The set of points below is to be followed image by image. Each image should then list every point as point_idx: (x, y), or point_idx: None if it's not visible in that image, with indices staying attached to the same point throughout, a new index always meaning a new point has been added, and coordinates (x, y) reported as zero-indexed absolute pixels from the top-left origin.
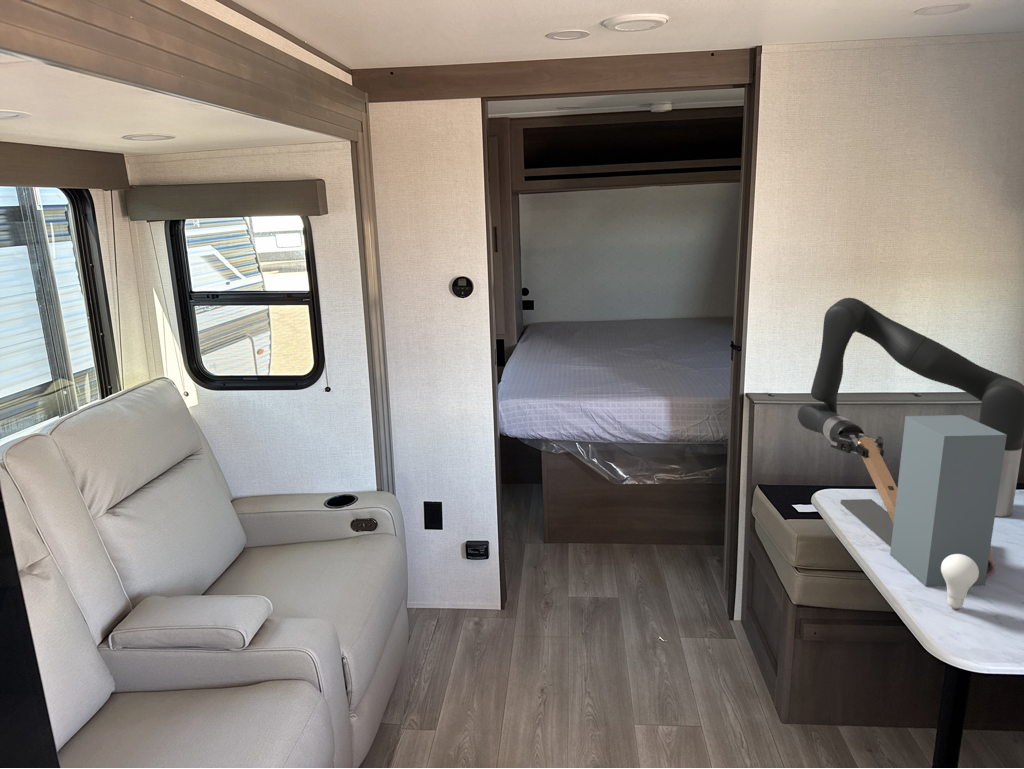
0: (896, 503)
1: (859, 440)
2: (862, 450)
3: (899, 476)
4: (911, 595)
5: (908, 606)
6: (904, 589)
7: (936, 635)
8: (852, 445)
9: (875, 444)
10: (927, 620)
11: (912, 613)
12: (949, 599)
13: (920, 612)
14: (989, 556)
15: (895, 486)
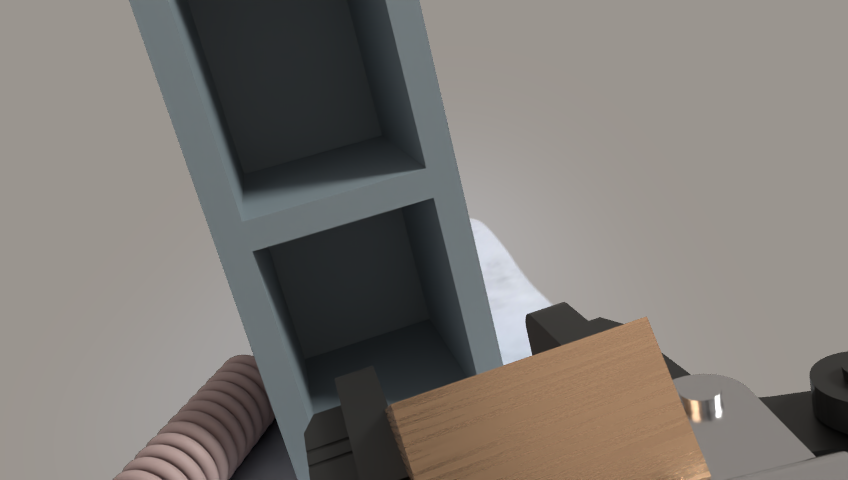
0: (465, 206)
1: (666, 391)
2: (604, 324)
3: (436, 81)
4: (494, 290)
5: (510, 265)
6: (506, 300)
7: (478, 234)
8: (798, 424)
9: (386, 409)
10: (482, 251)
11: (507, 254)
12: None
13: (490, 261)
14: (220, 368)
15: None
